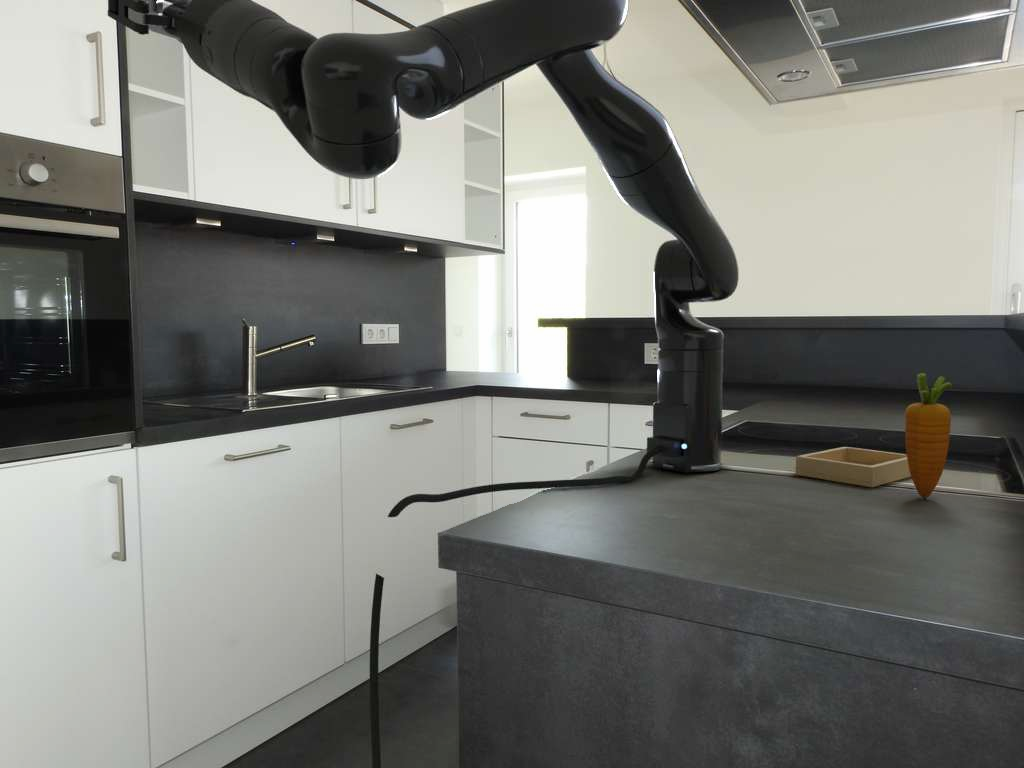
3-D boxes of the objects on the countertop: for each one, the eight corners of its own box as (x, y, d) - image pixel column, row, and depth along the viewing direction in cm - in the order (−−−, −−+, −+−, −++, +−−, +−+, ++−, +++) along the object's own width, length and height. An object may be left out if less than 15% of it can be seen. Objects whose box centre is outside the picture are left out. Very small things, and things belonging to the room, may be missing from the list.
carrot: (936, 494, 88) (941, 371, 87) (957, 503, 83) (962, 374, 82) (893, 493, 88) (898, 371, 87) (911, 502, 83) (917, 373, 82)
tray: (872, 487, 92) (873, 467, 91) (795, 474, 100) (795, 456, 100) (918, 474, 100) (919, 455, 100) (844, 463, 108) (844, 446, 108)
